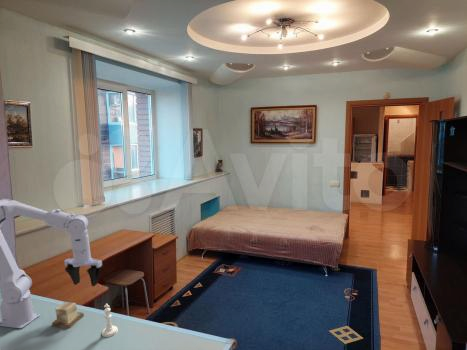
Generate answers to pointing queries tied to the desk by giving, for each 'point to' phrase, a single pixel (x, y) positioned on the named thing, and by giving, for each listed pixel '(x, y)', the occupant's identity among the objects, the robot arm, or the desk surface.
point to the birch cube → (66, 312)
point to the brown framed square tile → (68, 324)
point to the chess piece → (109, 324)
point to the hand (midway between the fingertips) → (85, 284)
